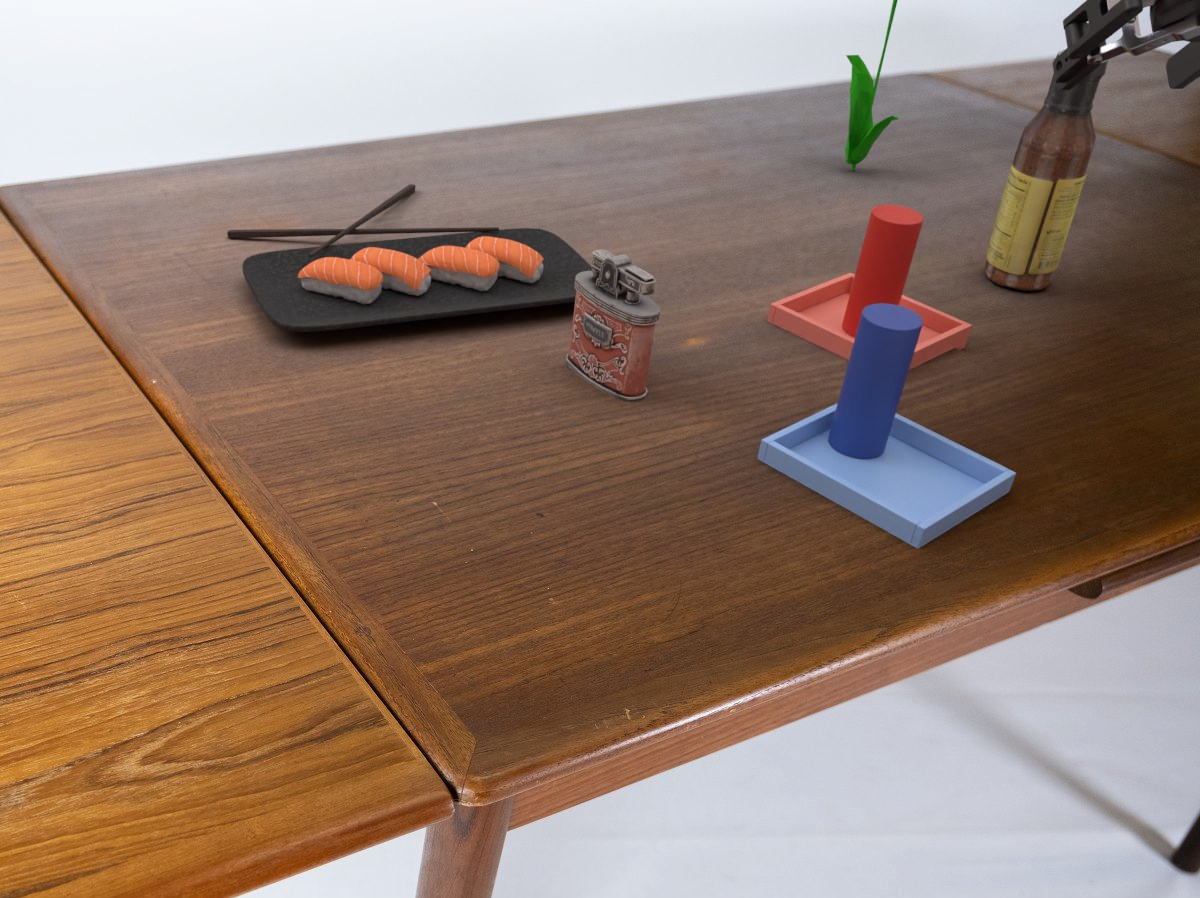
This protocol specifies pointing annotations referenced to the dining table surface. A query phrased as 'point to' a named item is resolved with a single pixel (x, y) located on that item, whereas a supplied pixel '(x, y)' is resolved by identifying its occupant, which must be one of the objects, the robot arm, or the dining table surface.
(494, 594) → the dining table surface
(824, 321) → the red tray
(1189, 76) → the robot arm
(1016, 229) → the sauce bottle
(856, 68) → the flower
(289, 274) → the sushi plate
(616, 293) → the lighter
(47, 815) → the dining table surface
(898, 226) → the red peg
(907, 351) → the blue peg
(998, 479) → the blue tray
